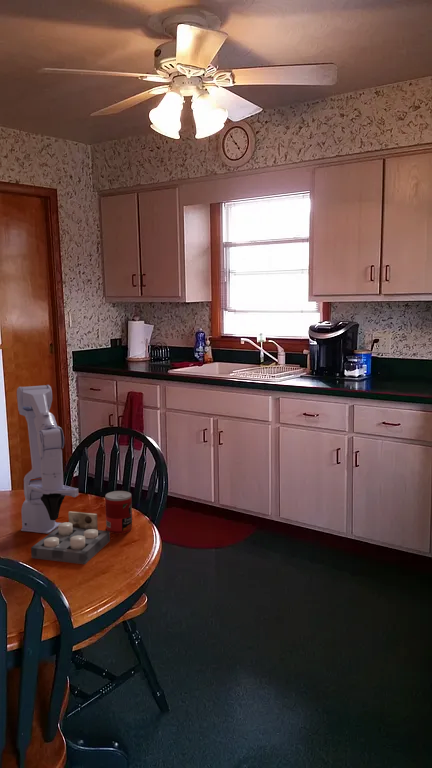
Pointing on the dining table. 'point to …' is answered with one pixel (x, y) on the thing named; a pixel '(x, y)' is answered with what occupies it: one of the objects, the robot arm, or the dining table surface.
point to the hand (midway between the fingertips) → (54, 519)
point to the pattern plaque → (83, 520)
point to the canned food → (118, 512)
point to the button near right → (77, 542)
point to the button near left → (51, 542)
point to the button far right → (91, 533)
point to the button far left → (65, 529)
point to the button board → (64, 549)
